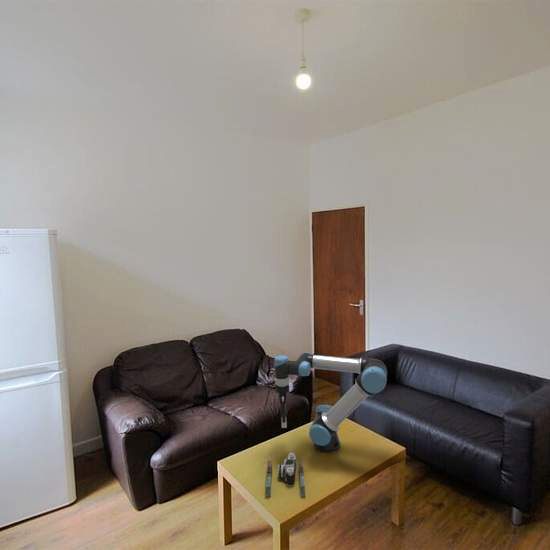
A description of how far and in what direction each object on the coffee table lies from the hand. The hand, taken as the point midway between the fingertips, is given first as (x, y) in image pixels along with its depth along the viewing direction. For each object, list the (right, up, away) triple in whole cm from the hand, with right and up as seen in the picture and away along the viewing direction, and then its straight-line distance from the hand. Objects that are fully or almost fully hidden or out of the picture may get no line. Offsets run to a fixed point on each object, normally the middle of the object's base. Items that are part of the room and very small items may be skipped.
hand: (284, 421), depth 200 cm
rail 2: (+8, -21, -23) cm, 32 cm away
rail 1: (-8, -21, -23) cm, 32 cm away
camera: (+1, -21, -18) cm, 27 cm away
